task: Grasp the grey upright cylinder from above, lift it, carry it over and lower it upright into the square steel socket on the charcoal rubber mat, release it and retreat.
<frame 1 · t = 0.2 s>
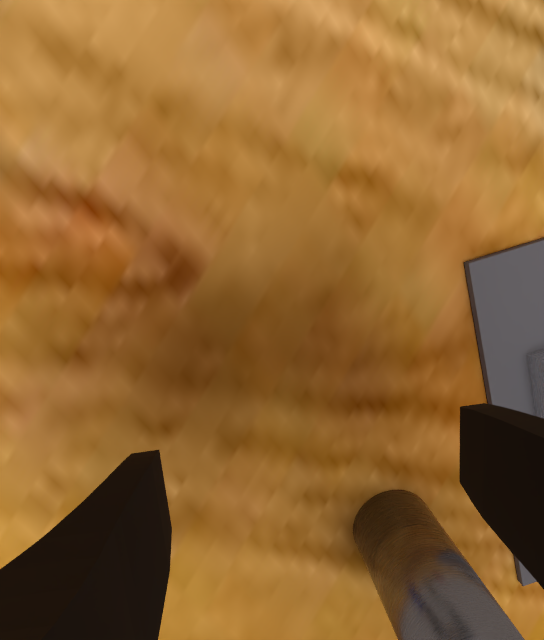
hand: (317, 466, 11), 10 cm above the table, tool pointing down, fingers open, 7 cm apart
grey upright cylinder: (391, 525, 23), on the table
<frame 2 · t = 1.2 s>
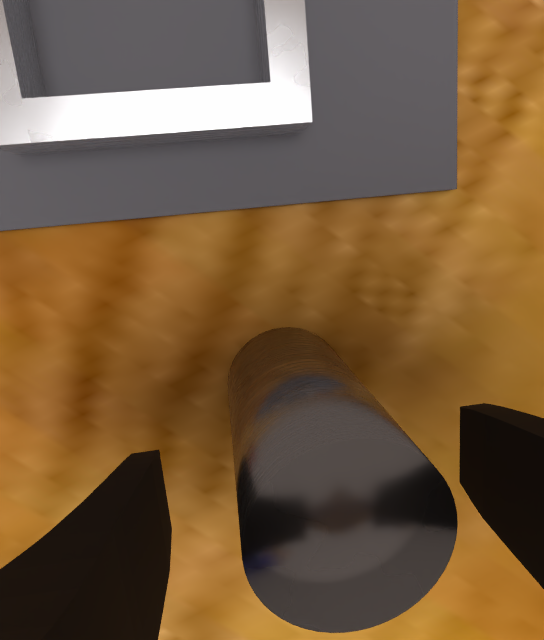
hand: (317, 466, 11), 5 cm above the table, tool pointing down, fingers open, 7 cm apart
grey upright cylinder: (285, 383, 16), on the table
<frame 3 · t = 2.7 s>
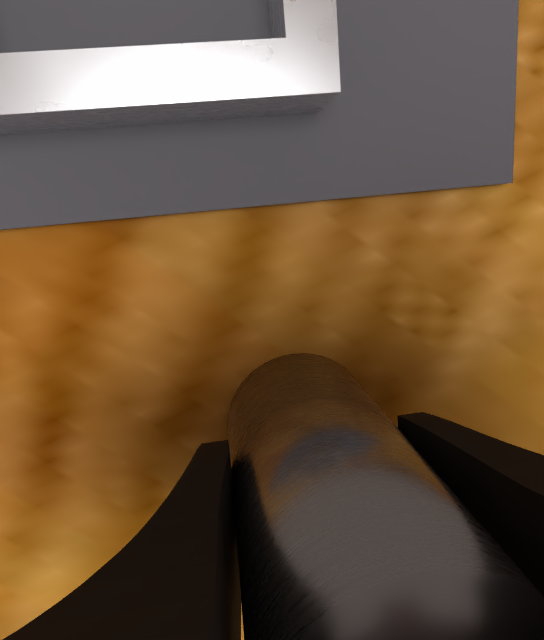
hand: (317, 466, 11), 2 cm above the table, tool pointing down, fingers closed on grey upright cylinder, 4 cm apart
grey upright cylinder: (298, 421, 13), on the table, touching gripper
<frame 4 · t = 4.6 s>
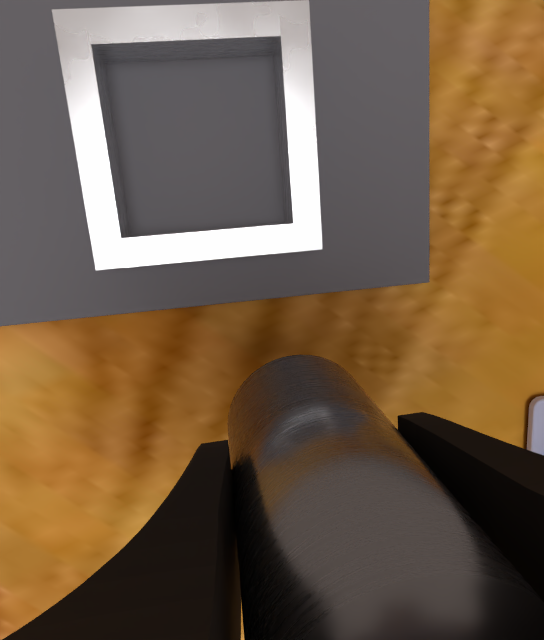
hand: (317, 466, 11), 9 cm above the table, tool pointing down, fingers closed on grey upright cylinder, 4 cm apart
steel socket: (200, 147, 17), resting on dock mat
dock mat: (200, 149, 18), on the table
grey upright cylinder: (298, 422, 13), point 7 cm above the table, touching gripper
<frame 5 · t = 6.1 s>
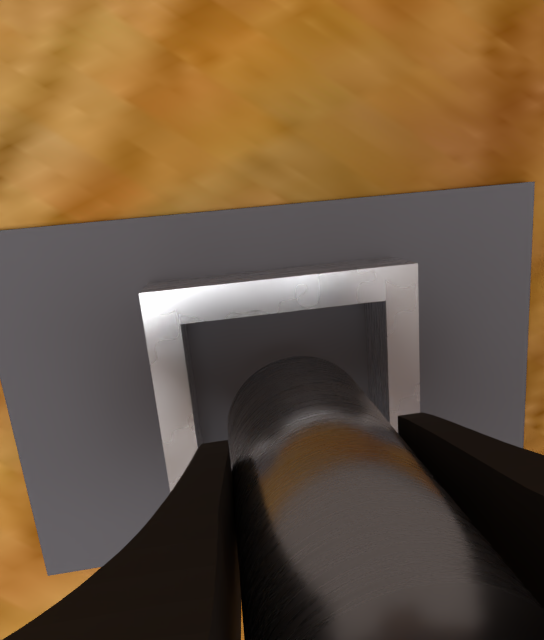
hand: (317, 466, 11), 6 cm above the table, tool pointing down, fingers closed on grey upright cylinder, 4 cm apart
steel socket: (283, 384, 16), resting on dock mat
dock mat: (282, 380, 16), on the table
grey upright cylinder: (298, 423, 13), point 3 cm above the table, touching gripper
when the fingers open (4 cm above the table, at t = 6.9 s): grey upright cylinder drops 1 cm, resting on dock mat.
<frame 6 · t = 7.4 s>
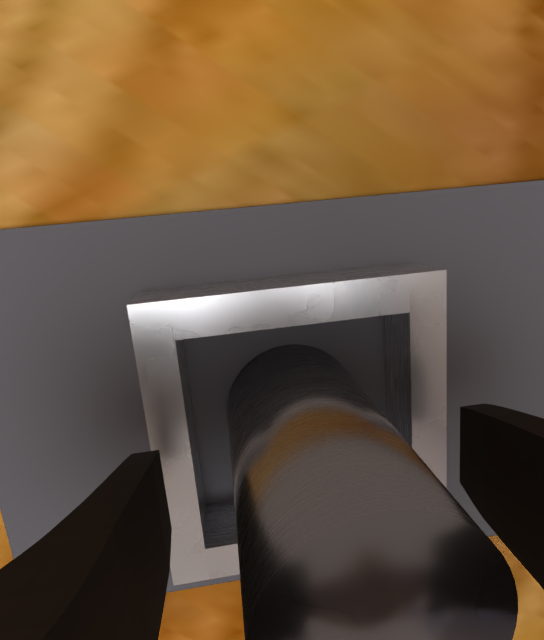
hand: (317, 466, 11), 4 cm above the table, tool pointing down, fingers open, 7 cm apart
steel socket: (291, 404, 14), resting on dock mat
dock mat: (289, 399, 15), on the table
grey upright cylinder: (291, 406, 14), resting on dock mat
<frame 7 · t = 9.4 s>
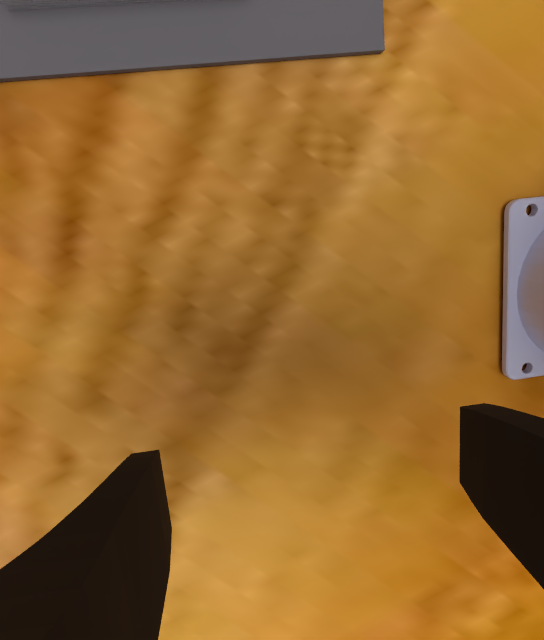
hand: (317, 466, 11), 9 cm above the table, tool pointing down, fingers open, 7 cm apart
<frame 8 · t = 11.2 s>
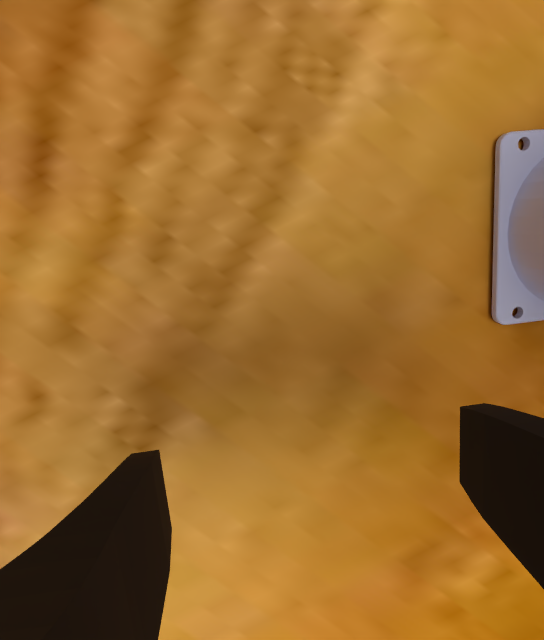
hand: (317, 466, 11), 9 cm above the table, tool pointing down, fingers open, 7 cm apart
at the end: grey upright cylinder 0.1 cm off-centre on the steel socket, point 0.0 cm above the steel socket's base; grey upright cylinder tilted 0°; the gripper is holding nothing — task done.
